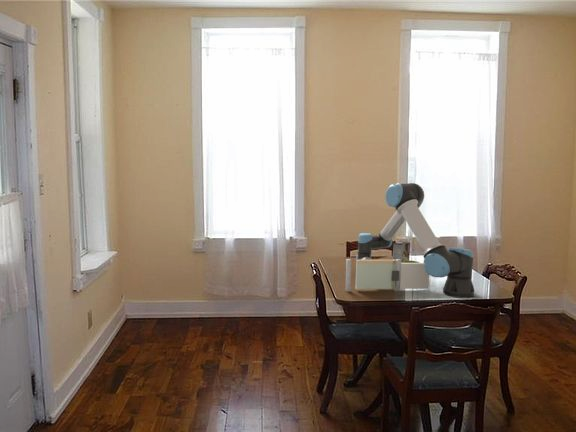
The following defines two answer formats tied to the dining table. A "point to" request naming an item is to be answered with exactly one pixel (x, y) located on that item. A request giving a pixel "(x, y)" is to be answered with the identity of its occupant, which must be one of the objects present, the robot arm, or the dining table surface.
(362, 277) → the gate
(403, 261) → the plant pot
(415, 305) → the dining table surface
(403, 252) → the coffee box
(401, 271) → the fence
